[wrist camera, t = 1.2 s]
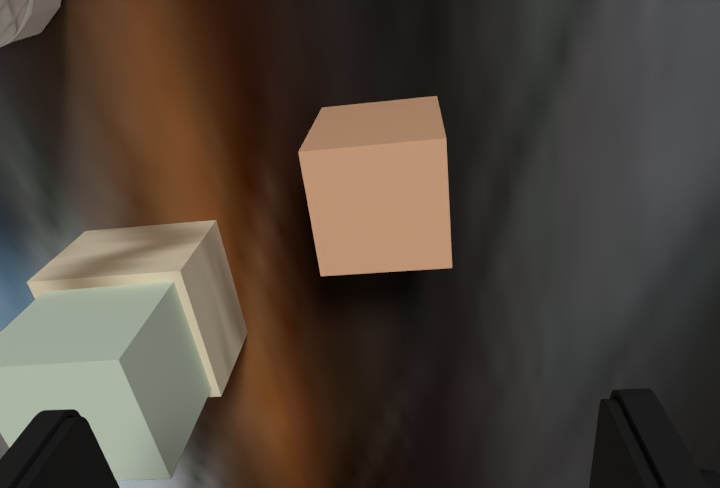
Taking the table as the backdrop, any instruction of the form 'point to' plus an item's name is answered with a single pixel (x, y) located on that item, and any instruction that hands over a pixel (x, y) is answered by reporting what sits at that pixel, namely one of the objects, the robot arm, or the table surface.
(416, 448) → the table surface
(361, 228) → the terracotta block
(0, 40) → the white cup
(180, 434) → the sage top block
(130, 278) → the beech base block
